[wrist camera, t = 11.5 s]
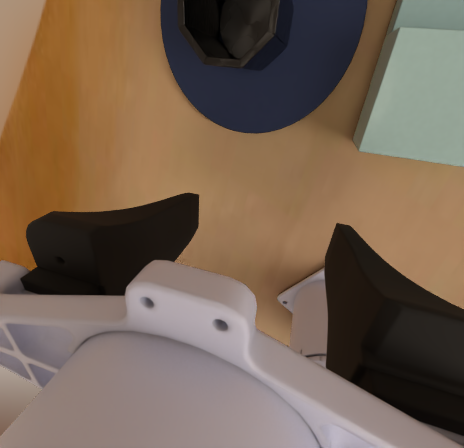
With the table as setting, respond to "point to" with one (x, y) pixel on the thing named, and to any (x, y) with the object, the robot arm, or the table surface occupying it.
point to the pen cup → (236, 30)
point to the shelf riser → (418, 86)
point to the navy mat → (270, 68)
